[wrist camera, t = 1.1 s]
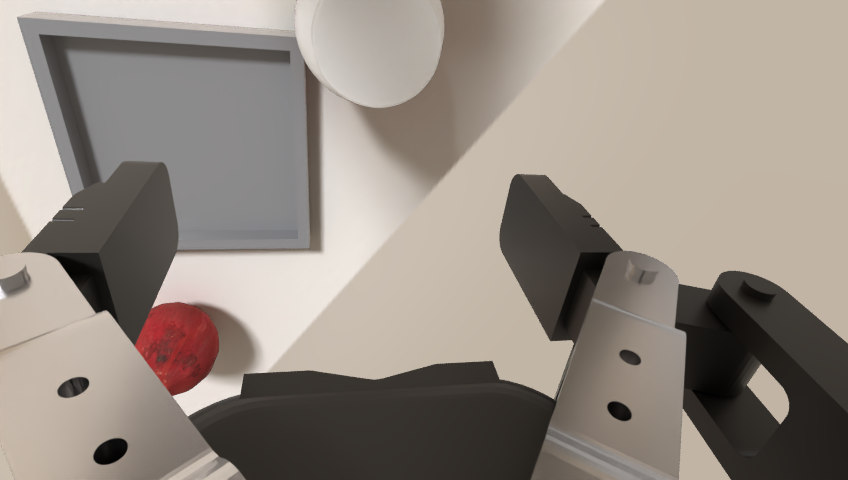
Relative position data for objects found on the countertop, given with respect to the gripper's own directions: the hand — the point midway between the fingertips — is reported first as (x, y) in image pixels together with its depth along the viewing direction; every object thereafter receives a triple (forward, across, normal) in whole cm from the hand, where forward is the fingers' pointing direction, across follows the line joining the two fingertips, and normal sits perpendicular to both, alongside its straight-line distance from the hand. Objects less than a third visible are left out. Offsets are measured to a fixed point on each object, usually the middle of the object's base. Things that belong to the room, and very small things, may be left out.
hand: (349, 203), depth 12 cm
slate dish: (+19, +8, +6) cm, 21 cm away
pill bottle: (+19, -1, -2) cm, 19 cm away
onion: (+19, +10, +19) cm, 29 cm away
